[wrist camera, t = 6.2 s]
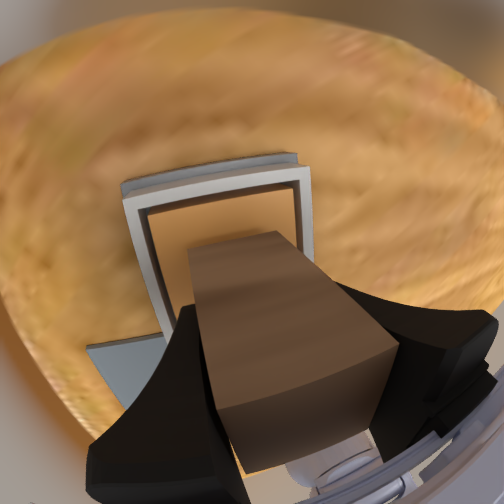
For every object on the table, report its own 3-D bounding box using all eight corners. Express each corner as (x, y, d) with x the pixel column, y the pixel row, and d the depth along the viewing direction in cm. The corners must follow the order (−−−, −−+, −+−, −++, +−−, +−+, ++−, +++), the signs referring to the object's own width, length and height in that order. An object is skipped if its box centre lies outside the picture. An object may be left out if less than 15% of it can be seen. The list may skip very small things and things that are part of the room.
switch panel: (296, 289, 20) (320, 318, 17) (164, 320, 18) (165, 359, 15) (287, 152, 16) (317, 155, 13) (125, 180, 14) (109, 192, 11)
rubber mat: (229, 399, 24) (230, 403, 23) (134, 416, 22) (134, 420, 21) (207, 322, 19) (208, 327, 19) (86, 345, 18) (85, 349, 17)
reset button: (286, 290, 18) (299, 306, 16) (180, 316, 16) (182, 335, 15) (278, 182, 15) (292, 188, 13) (151, 206, 14) (147, 216, 12)
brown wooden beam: (282, 304, 14) (367, 429, 7) (205, 323, 13) (246, 474, 6) (276, 230, 12) (398, 343, 5) (187, 249, 11) (216, 409, 4)
